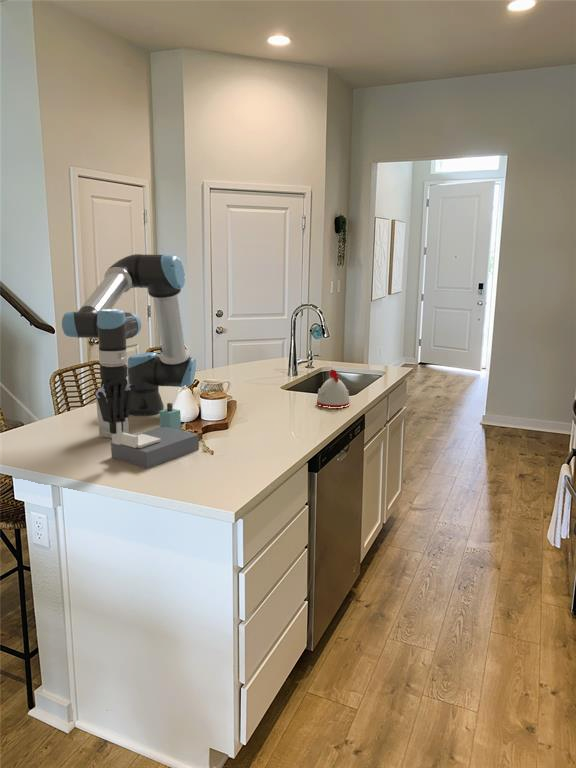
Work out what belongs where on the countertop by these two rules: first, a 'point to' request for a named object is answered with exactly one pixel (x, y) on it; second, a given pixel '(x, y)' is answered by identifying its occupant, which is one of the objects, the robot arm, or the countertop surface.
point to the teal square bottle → (170, 417)
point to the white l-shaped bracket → (138, 440)
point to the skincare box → (105, 427)
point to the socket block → (158, 447)
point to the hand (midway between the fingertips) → (117, 443)
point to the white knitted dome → (333, 392)
